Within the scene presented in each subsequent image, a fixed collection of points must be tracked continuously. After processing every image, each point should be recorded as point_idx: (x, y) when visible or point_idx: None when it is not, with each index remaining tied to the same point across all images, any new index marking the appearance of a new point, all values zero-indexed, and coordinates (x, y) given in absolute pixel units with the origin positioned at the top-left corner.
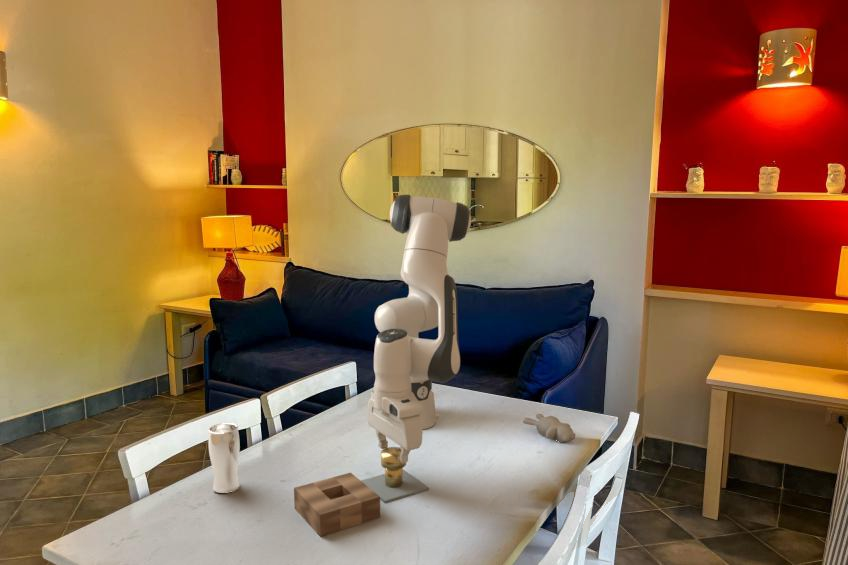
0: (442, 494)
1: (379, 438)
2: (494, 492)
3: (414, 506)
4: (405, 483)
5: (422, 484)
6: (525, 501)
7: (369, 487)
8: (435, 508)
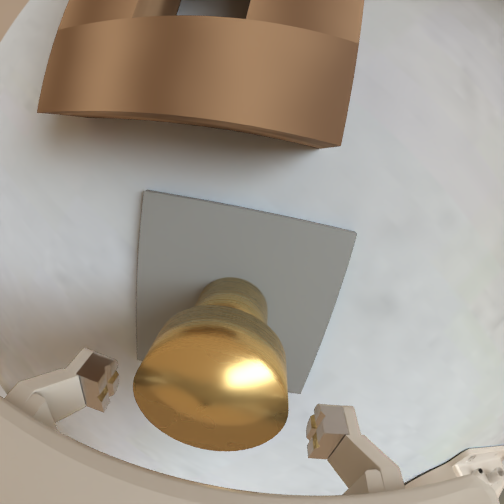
0: None
1: (356, 449)
2: None
3: (77, 250)
4: None
5: None
6: None
7: (279, 220)
8: (47, 283)
